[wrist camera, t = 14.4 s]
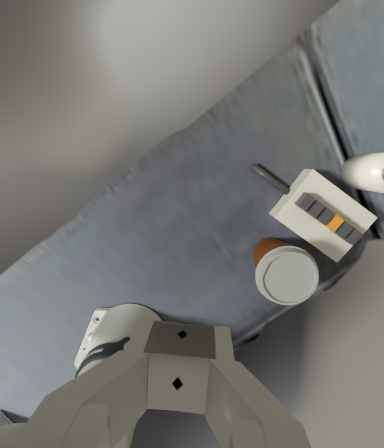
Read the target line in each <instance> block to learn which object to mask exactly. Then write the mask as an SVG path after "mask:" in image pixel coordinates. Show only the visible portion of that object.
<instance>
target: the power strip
mask: <svg viewBox="0 0 384 448" xmlns="http://www.w3.org/2000/svg"><path fill="white" fill-rule="evenodd" d="M250 169H251V170H252V171H254V172H255V173H256V174H258V175H259V176H260V177H262V178H263V179H265V180H266V181H267V182H269V183H270V184H271V185H273V186H274V187H275V188H277V189H278V190H280V191H281V192H282V193H284V195H283V196H282V198H281V199H280V200H279V202H278V203H277V204H276V205H275V207H274V208H273V209H272V210H271V212H270V213H269V214H270V215H271V216H273V217H274V218H276V219H277V220H278V221H280V222H281V223H283V224H284V225H285V226H287V227H288V228H289V229H291V230H292V231H294V232H295V233H296V234H298V235H299V236H301V237H302V238H303V239H305V240H306V241H307V242H309V243H310V244H312V245H313V246H314V247H316V248H317V249H319V250H320V251H321V252H323V253H324V254H325V255H327V256H328V257H330V258H331V259H332V260H334V261H335V262H337V263H338V261H339V260H340V259H341V258H342V257H343V256H344V255H345V254H346V253H347V251H348V250H349V249H350V248H351V247H352V246H353V245H354V244H355V243H356V242H357V241H358V240H359V239H360V238H361V237H362V235H363V234H364V233H365V231H366V230H367V229H368V228H369V227H370V226H371V225H372V224H373V222H374V221H375V220H376V219H377V217H376V216H375V215H373V214H372V213H371V212H369V211H368V210H367V209H365V208H364V207H363V206H361V205H360V204H359V203H357V202H356V201H355V200H353V199H352V198H351V197H350V196H348V195H347V194H346V193H344V192H343V191H342V190H340V189H339V188H338V187H336V186H335V185H334V184H332V183H331V182H330V181H328V180H327V179H326V178H324V177H323V176H322V175H320V174H319V173H318V172H316V171H315V170H314V169H304V170H303V171H302V172H301V174H300V175H299V176H298V177H297V179H296V180H295V181H294V183H293V184H292V185H291V186H290V188H287V187H286V186H285V185H283V184H282V183H281V182H279V181H278V180H276V179H275V178H274V177H272V176H271V175H270V174H268V173H267V172H266V171H264V170H263V169H262V168H260V167H259V166H257V165H256V164H255V163H254V164H253V165H252V166H251V168H250Z"/></svg>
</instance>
